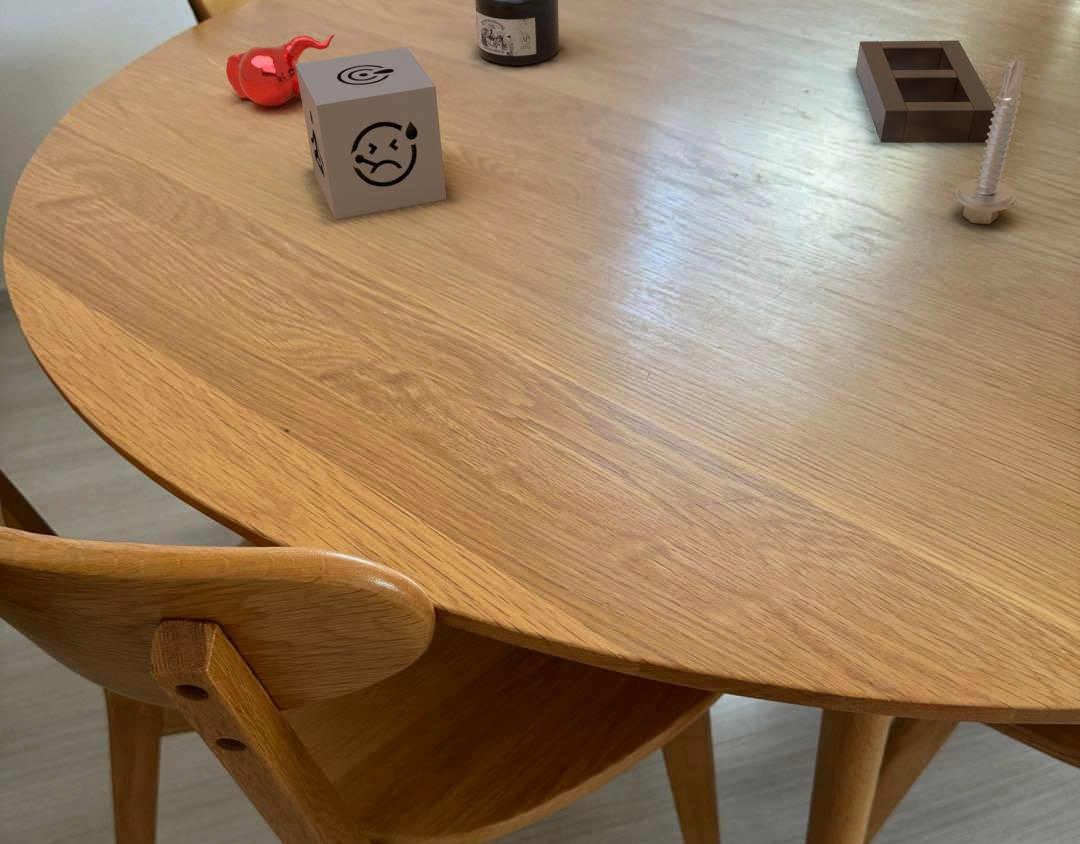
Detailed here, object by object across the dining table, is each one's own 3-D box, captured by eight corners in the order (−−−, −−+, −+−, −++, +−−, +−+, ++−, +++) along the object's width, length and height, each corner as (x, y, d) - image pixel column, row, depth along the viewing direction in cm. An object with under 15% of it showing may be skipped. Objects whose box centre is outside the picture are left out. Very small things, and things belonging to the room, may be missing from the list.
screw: (1020, 215, 97) (993, 236, 94) (966, 198, 99) (938, 219, 97) (1062, 56, 88) (1033, 75, 85) (1002, 42, 90) (972, 61, 88)
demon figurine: (217, 41, 119) (331, 18, 120) (235, 100, 123) (346, 79, 124) (215, 64, 113) (336, 41, 114) (234, 126, 117) (350, 103, 118)
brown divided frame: (952, 69, 121) (959, 40, 119) (990, 142, 107) (997, 110, 105) (855, 70, 121) (859, 41, 119) (880, 142, 108) (885, 110, 106)
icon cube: (418, 155, 110) (406, 46, 103) (446, 199, 103) (435, 86, 96) (314, 173, 108) (295, 63, 101) (335, 219, 100) (316, 105, 94)
